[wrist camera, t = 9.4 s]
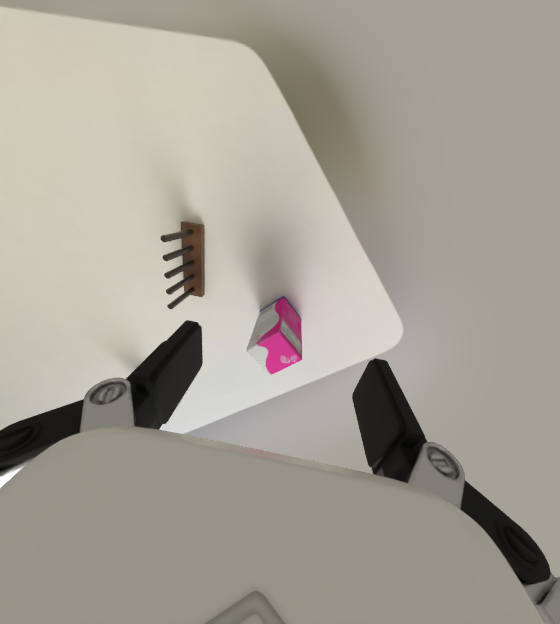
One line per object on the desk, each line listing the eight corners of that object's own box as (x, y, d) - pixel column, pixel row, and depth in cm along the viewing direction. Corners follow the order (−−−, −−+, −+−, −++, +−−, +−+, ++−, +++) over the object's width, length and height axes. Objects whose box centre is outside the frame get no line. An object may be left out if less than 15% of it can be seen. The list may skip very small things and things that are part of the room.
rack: (184, 221, 32) (149, 226, 25) (204, 225, 32) (175, 231, 25) (187, 291, 38) (160, 311, 30) (204, 294, 38) (181, 316, 30)
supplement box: (277, 333, 40) (269, 377, 30) (259, 310, 38) (243, 349, 28) (302, 319, 38) (302, 361, 28) (284, 295, 36) (277, 330, 26)
